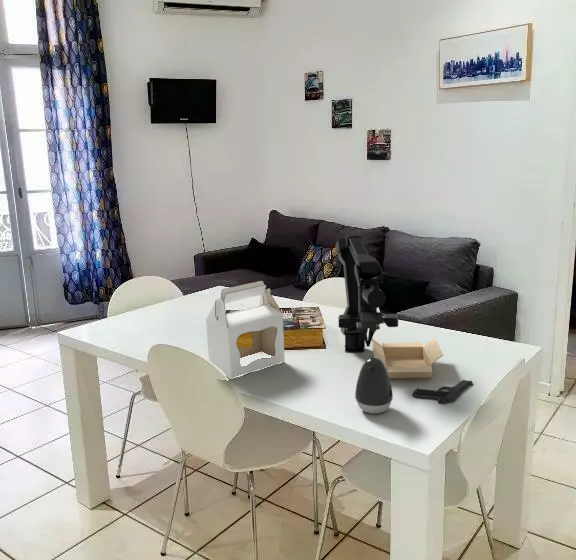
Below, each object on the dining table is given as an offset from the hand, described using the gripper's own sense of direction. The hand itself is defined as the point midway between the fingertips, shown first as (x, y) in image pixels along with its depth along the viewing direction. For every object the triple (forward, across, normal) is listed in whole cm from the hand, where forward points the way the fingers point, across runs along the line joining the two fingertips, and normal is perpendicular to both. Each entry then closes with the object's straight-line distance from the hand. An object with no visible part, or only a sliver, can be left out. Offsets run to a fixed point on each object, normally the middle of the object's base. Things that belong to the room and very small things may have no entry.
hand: (368, 346), depth 198 cm
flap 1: (+3, +5, 0) cm, 6 cm away
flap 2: (+3, +19, 0) cm, 19 cm away
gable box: (+8, -40, +3) cm, 41 cm away
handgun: (+8, +21, -18) cm, 29 cm away
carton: (+8, +12, 0) cm, 14 cm away
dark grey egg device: (+8, 0, -31) cm, 32 cm away
